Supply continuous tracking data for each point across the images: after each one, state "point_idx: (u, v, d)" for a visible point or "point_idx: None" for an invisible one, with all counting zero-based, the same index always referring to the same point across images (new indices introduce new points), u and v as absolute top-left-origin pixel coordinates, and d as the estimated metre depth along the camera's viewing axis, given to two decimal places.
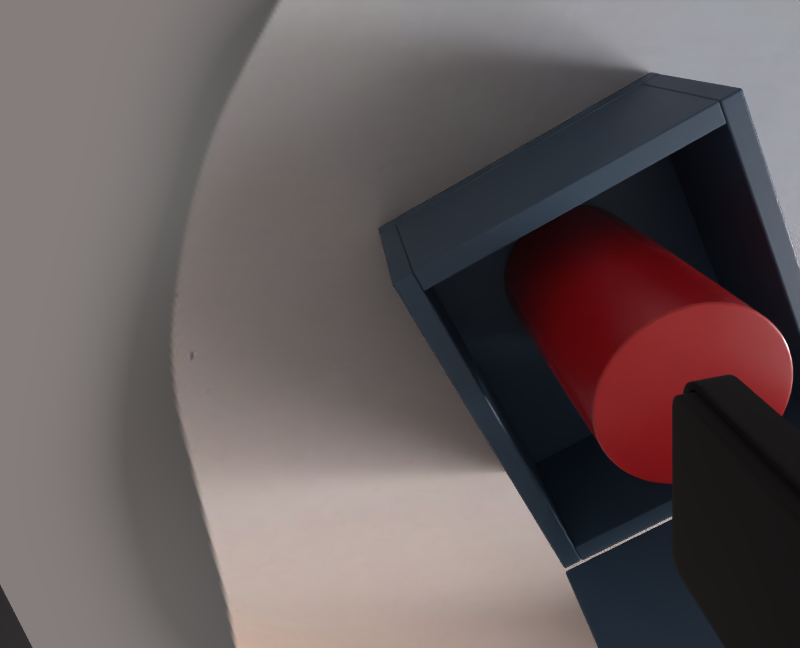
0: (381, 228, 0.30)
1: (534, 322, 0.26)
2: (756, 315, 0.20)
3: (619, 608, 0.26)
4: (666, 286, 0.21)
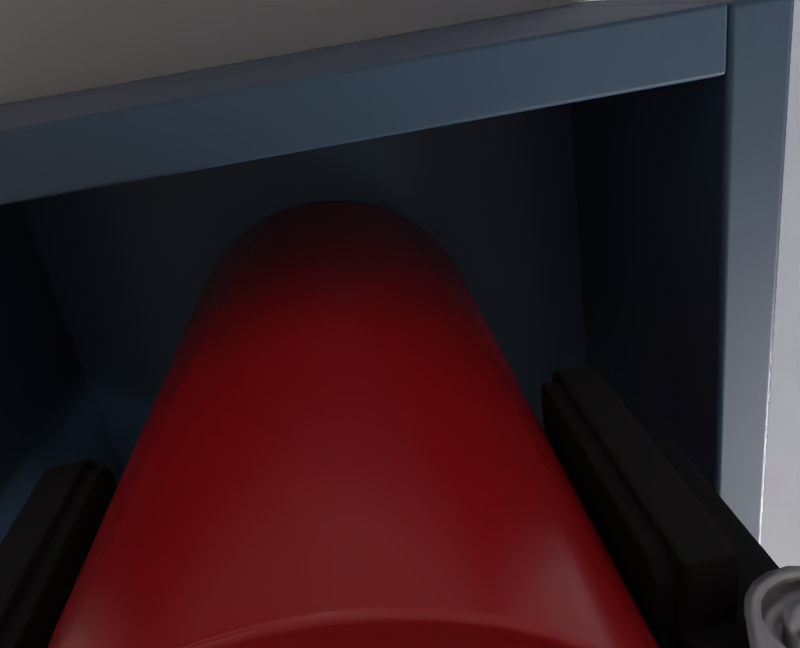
0: None
1: None
2: None
3: None
4: (401, 476, 0.06)
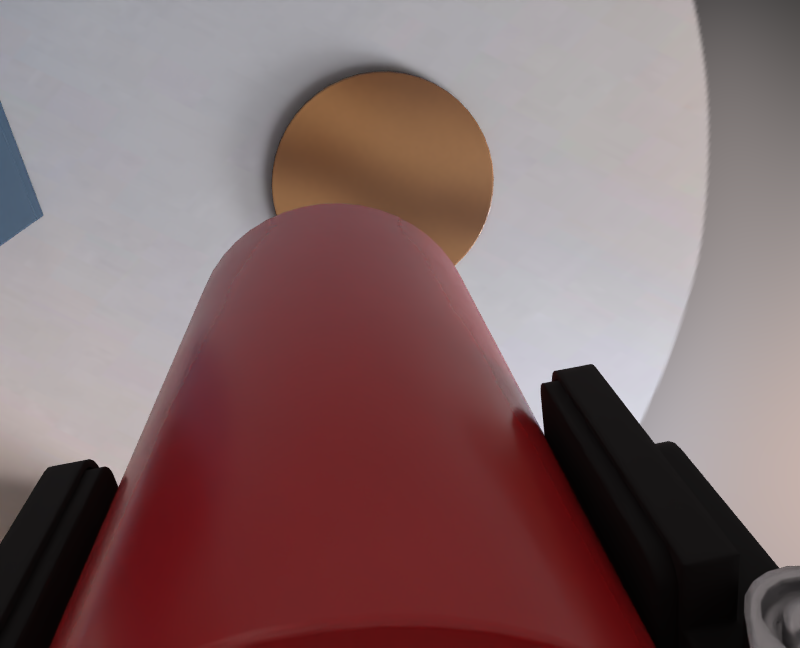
0: None
1: None
2: None
3: None
4: (402, 482, 0.06)
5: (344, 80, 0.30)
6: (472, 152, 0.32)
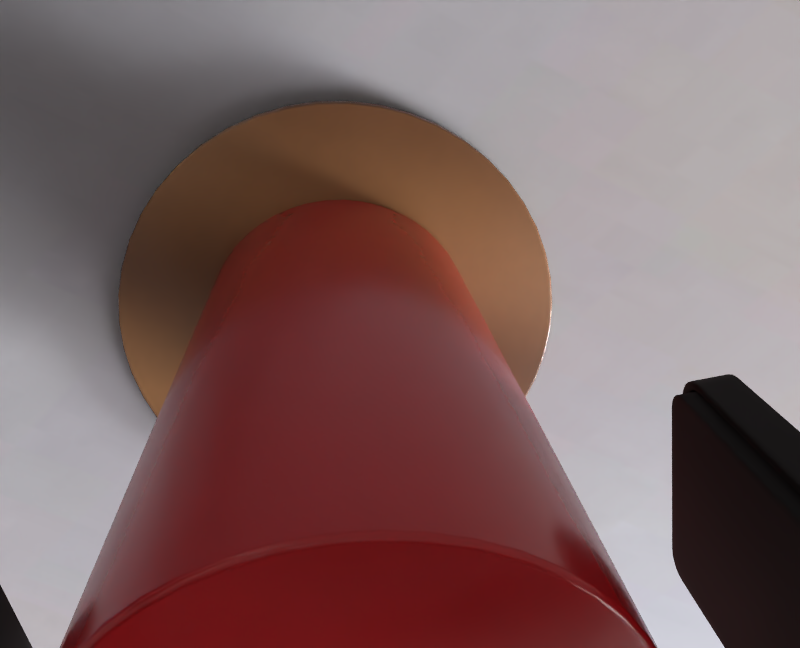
0: None
1: None
2: (619, 621, 0.06)
3: None
4: (397, 431, 0.07)
5: (253, 119, 0.15)
6: (513, 257, 0.16)
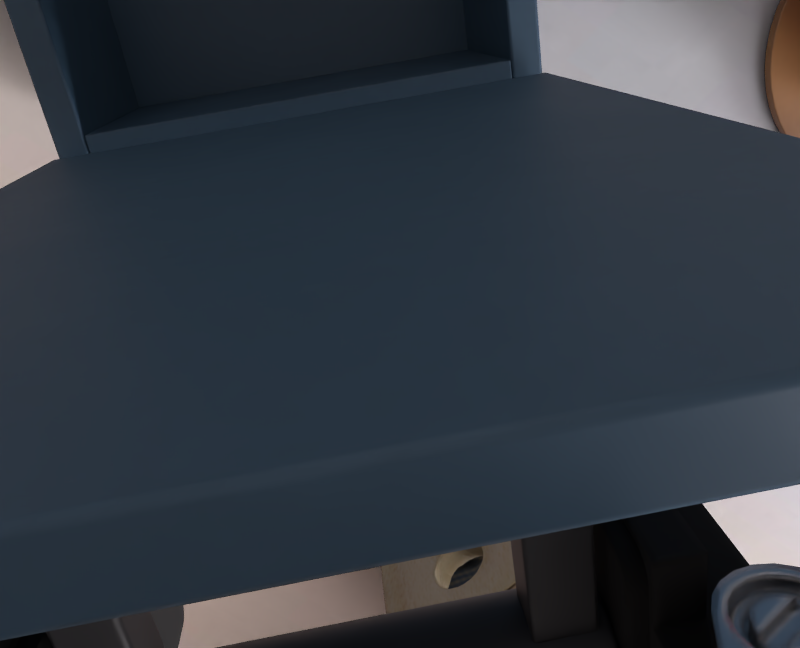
0: None
1: None
2: None
3: (67, 172, 0.15)
4: None
5: None
6: None
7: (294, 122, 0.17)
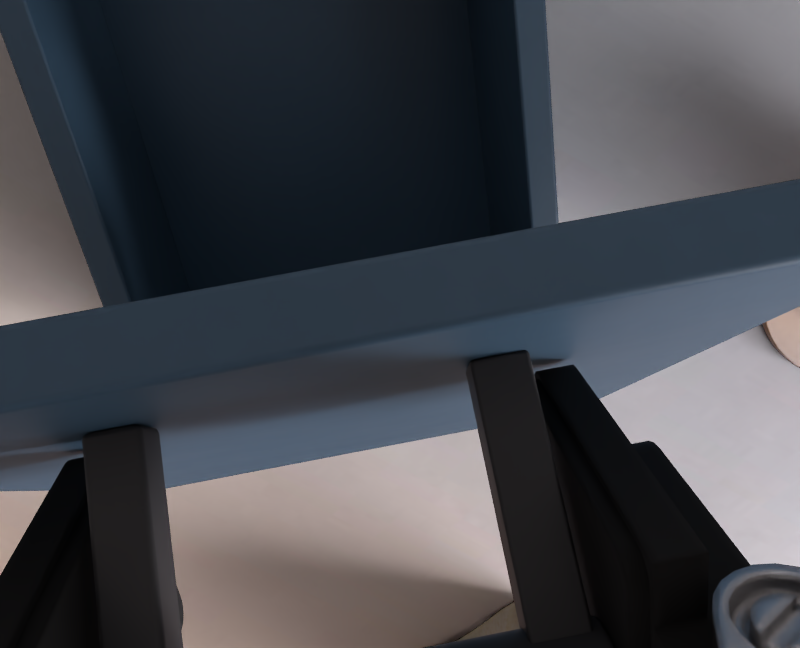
0: None
1: None
2: None
3: None
4: None
5: None
6: None
7: None
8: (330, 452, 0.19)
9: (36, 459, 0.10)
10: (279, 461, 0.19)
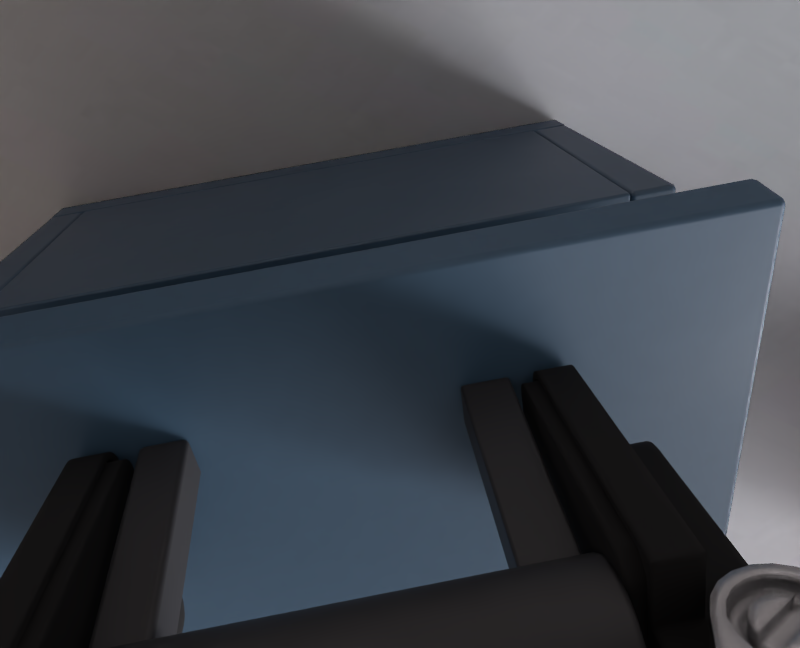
0: (63, 210, 0.17)
1: None
2: None
3: None
4: None
5: None
6: None
7: None
8: None
9: None
10: None
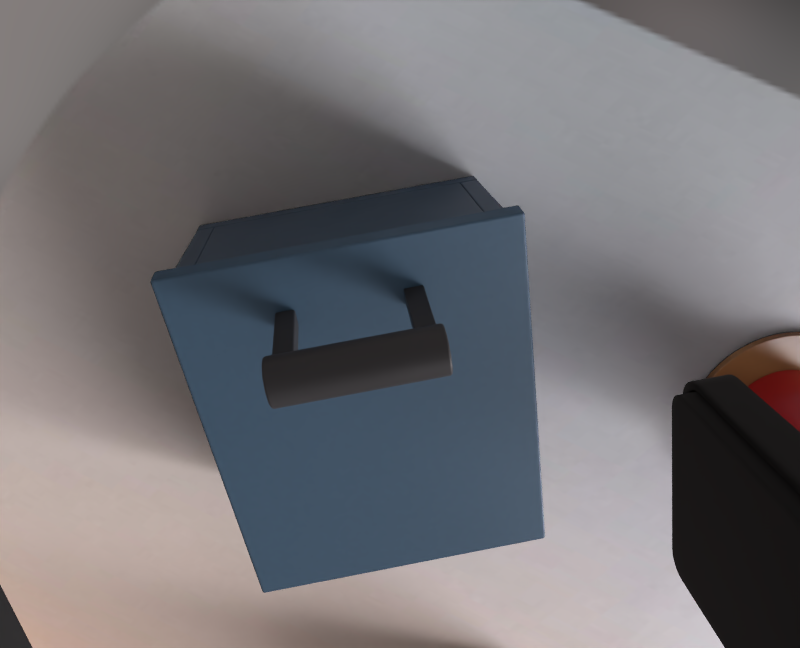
0: (201, 226, 0.32)
1: None
2: None
3: None
4: None
5: (766, 341, 0.37)
6: None
7: None
8: (375, 537, 0.30)
9: (249, 355, 0.25)
10: (342, 538, 0.30)
